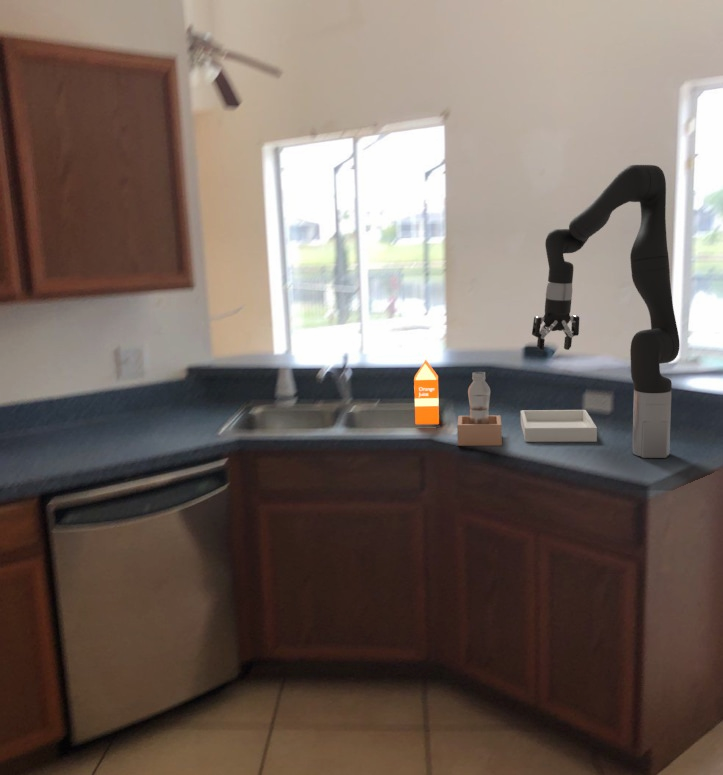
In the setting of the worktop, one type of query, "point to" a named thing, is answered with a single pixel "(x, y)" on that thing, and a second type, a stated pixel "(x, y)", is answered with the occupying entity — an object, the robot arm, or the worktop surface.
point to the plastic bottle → (479, 399)
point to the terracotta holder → (479, 431)
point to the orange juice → (426, 395)
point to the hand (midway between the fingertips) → (553, 349)
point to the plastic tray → (558, 426)
